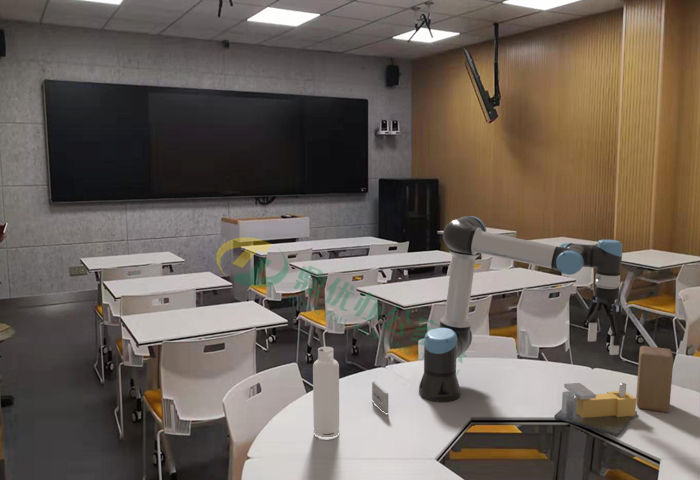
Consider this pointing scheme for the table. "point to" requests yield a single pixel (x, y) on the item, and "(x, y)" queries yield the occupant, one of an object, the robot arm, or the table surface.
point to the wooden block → (654, 378)
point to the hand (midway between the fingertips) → (602, 347)
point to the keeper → (568, 397)
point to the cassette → (380, 397)
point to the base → (600, 419)
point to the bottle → (326, 393)
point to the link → (607, 405)
